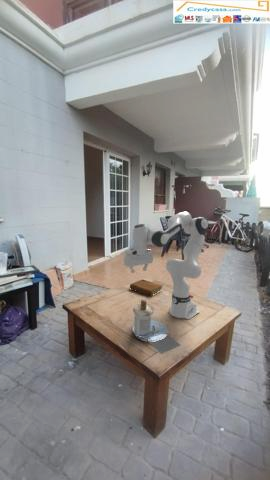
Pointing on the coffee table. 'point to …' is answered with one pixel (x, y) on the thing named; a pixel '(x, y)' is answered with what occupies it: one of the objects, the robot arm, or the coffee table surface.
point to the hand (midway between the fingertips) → (138, 271)
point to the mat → (165, 344)
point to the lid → (143, 309)
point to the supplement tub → (142, 325)
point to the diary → (146, 287)
